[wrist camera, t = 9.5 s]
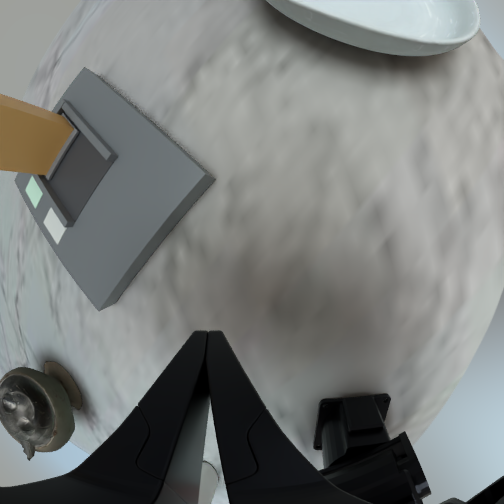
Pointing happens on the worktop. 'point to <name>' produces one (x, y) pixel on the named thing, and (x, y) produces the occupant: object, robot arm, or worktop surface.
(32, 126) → the switch tab
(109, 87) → the switch housing
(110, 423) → the worktop surface
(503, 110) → the worktop surface
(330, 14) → the serving bowl
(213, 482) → the eye dropper bottle
